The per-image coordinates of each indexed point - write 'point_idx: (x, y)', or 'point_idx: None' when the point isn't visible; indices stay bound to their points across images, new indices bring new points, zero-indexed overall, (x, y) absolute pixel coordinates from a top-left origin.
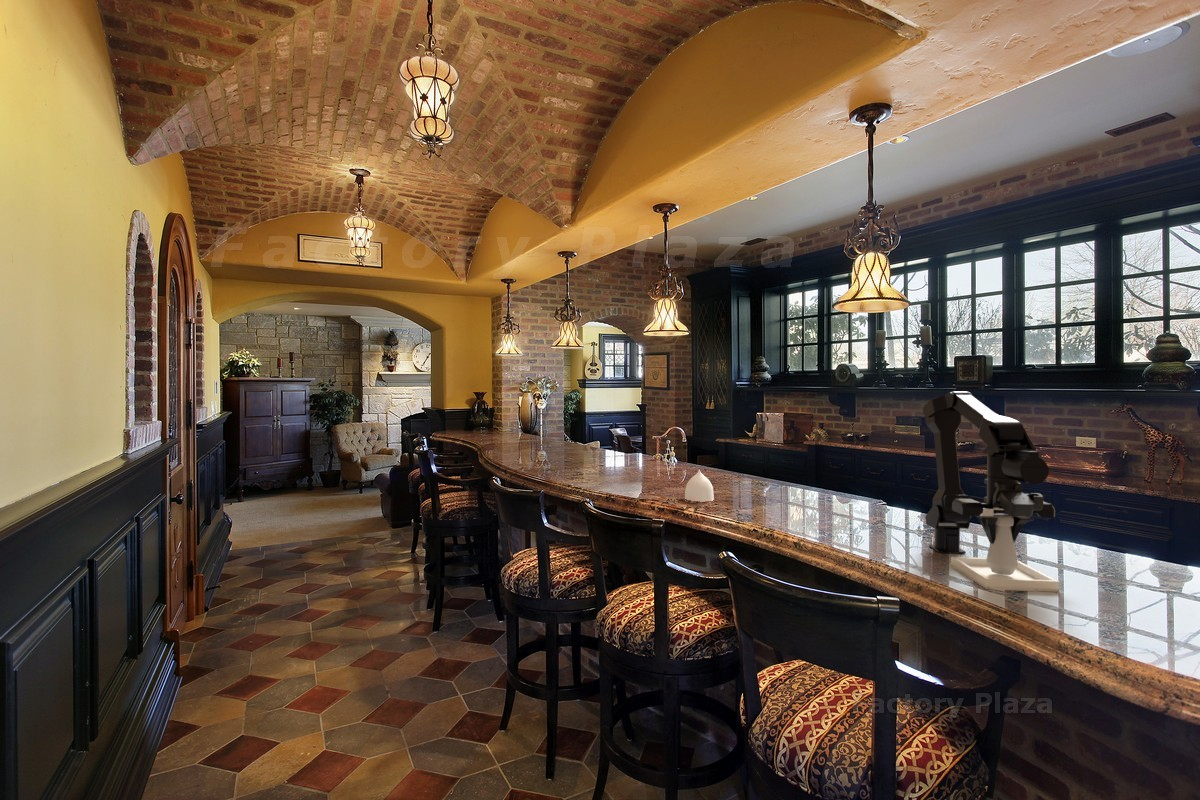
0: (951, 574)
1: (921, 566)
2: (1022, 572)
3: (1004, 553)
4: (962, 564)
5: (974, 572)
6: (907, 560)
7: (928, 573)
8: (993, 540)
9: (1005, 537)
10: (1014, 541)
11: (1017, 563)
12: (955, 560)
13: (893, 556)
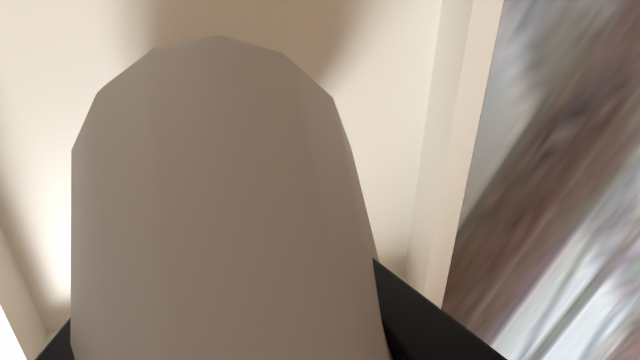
0: (513, 123)
1: (577, 232)
2: (15, 222)
3: (260, 119)
4: (461, 191)
5: (496, 3)
6: (575, 305)
7: (633, 115)
8: (397, 290)
9: (265, 310)
10: (53, 345)
11: (85, 118)
12: (443, 272)
13: (594, 342)
